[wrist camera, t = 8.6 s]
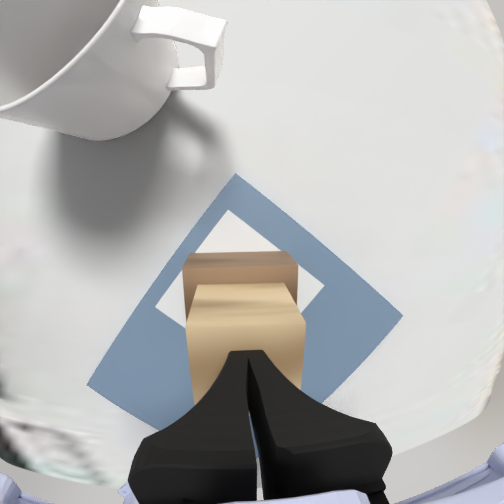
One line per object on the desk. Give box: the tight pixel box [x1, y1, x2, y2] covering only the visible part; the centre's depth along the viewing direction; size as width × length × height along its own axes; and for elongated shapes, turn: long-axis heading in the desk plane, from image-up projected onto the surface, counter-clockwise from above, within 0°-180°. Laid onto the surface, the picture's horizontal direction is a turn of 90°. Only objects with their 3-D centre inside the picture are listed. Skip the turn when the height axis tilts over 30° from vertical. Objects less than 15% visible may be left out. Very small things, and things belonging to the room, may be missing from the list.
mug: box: [0, 0, 228, 141], centre depth 11 cm, size 12×9×11 cm
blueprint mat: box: [87, 174, 403, 458], centre depth 21 cm, size 20×16×1 cm
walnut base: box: [182, 251, 298, 323], centre depth 18 cm, size 6×6×4 cm
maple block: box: [185, 283, 306, 415], centre depth 14 cm, size 4×4×5 cm
